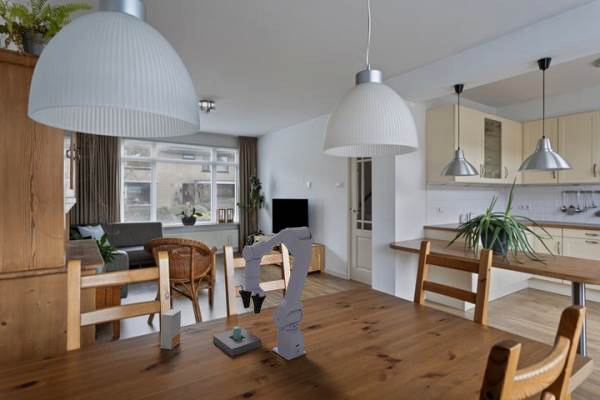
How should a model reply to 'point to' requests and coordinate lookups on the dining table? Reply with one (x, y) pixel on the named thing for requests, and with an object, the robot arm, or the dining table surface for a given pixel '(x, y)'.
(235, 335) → the peg
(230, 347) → the peg block
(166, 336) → the skincare box
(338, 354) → the dining table surface
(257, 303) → the robot arm
